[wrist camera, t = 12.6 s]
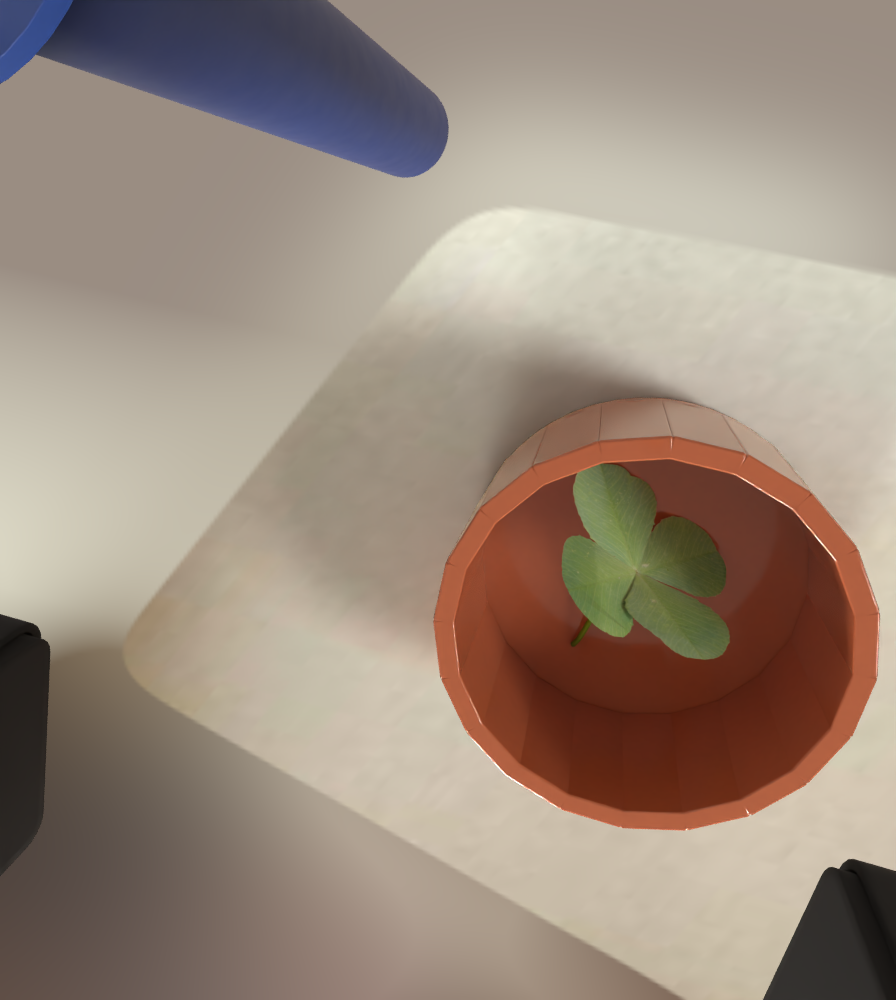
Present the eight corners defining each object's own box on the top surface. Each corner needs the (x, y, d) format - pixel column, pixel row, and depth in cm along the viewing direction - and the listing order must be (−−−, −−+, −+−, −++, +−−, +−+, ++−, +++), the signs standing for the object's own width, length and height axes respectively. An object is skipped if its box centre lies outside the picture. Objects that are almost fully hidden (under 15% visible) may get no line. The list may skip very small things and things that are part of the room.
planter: (441, 666, 35) (401, 762, 28) (512, 360, 30) (483, 389, 24) (756, 755, 33) (790, 880, 27) (877, 446, 29) (954, 503, 22)
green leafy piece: (602, 536, 36) (677, 448, 31) (685, 705, 32) (786, 638, 27) (458, 562, 33) (515, 469, 28) (532, 752, 29) (614, 686, 24)
